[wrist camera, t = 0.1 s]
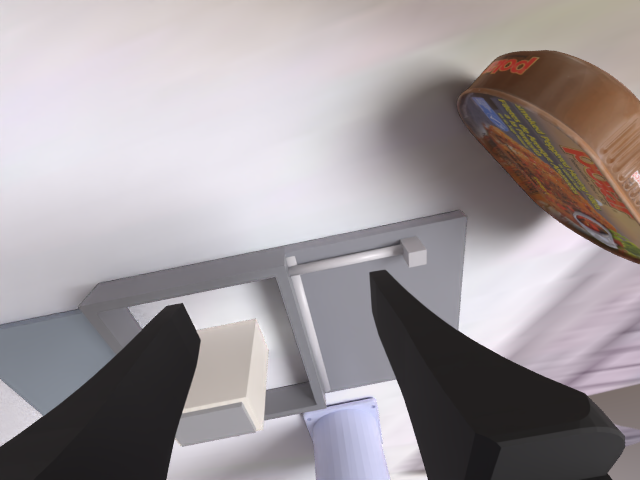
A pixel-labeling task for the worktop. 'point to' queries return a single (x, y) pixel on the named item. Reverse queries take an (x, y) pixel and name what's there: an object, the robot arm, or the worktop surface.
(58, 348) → the mat
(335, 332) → the grey open frame tray
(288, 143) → the worktop surface
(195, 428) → the block
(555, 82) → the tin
